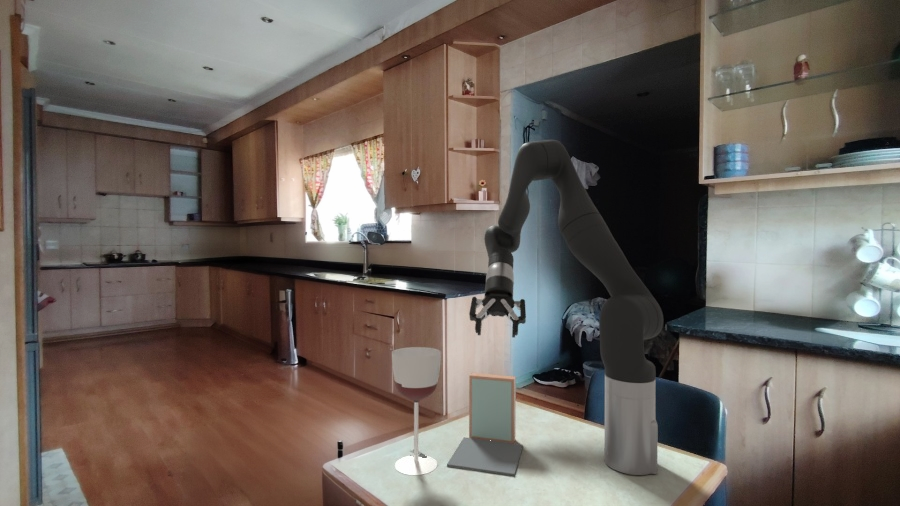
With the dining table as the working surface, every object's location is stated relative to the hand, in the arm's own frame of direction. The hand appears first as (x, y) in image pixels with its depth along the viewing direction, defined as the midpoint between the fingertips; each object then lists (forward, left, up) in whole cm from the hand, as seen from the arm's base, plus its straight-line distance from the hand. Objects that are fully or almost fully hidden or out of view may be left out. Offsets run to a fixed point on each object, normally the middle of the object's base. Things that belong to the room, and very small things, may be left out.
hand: (496, 334), depth 109 cm
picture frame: (-1, +11, -21) cm, 24 cm away
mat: (-2, +20, -21) cm, 29 cm away
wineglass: (+11, +27, -21) cm, 36 cm away
